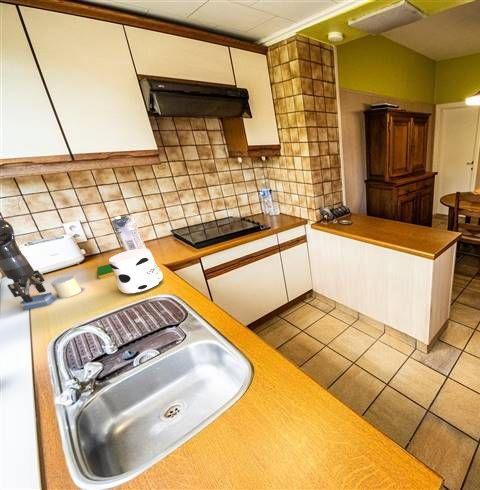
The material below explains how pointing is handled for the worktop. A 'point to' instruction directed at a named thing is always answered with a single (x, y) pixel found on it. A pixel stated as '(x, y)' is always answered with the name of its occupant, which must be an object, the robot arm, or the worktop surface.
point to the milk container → (135, 271)
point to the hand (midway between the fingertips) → (36, 296)
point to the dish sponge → (104, 271)
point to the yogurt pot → (66, 286)
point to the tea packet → (38, 301)
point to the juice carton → (128, 232)
